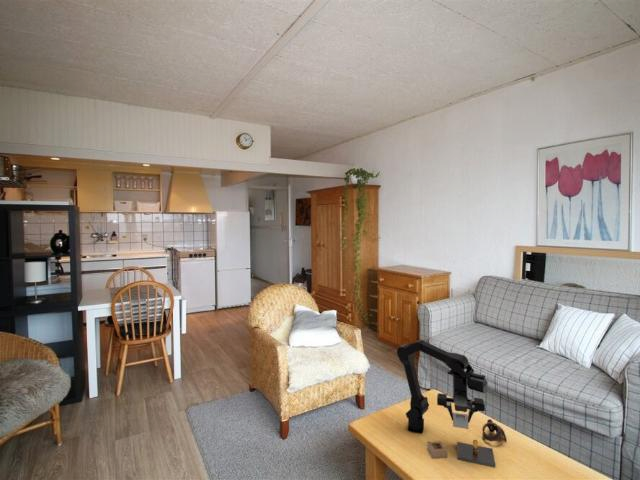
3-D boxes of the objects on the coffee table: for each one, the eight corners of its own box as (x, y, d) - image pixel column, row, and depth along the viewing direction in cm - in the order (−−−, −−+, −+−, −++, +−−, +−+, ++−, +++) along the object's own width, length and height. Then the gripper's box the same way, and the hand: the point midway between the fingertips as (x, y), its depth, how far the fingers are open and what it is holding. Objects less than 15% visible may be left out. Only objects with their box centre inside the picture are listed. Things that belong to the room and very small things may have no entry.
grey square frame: (453, 426, 149) (453, 419, 149) (452, 419, 155) (452, 412, 155) (468, 429, 147) (468, 422, 147) (467, 421, 153) (467, 414, 153)
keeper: (457, 459, 145) (457, 445, 144) (456, 444, 154) (457, 430, 153) (495, 467, 140) (495, 452, 139) (492, 451, 149) (492, 437, 149)
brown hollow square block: (432, 458, 145) (433, 451, 145) (427, 448, 151) (427, 442, 151) (447, 457, 146) (447, 450, 146) (440, 447, 152) (440, 441, 152)
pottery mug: (512, 447, 152) (505, 434, 150) (490, 454, 154) (484, 441, 152) (500, 424, 164) (493, 411, 162) (480, 431, 166) (474, 418, 163)
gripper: (436, 391, 146) (437, 428, 147) (486, 398, 140) (486, 436, 140) (437, 380, 156) (437, 414, 157) (483, 385, 150) (483, 420, 151)
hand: (460, 421), depth 151 cm, fingers closed on grey square frame, 6 cm apart
